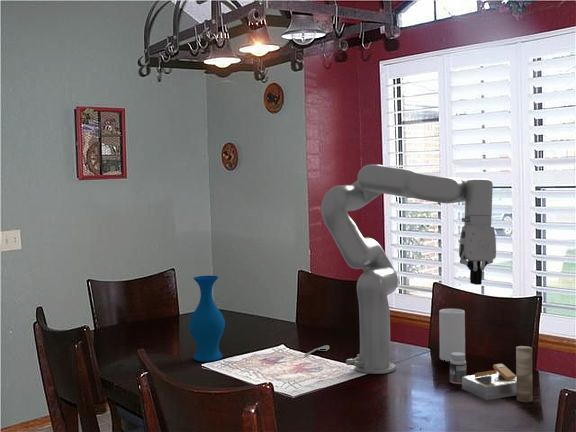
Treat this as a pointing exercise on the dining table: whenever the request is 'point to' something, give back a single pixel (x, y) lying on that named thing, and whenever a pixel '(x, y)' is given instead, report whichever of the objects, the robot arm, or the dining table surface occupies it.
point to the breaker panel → (490, 386)
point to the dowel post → (524, 373)
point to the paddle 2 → (504, 371)
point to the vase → (207, 323)
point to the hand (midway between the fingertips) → (475, 283)
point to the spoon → (319, 349)
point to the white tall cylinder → (451, 332)
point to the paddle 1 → (485, 373)
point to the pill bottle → (457, 367)
